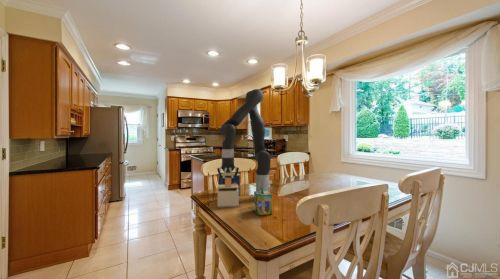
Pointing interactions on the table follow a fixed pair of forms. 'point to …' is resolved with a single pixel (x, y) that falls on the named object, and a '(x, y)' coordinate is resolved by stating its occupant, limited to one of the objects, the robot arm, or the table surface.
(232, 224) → the table surface
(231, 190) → the carton
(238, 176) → the protein box
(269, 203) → the chalk box
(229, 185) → the carton lid
